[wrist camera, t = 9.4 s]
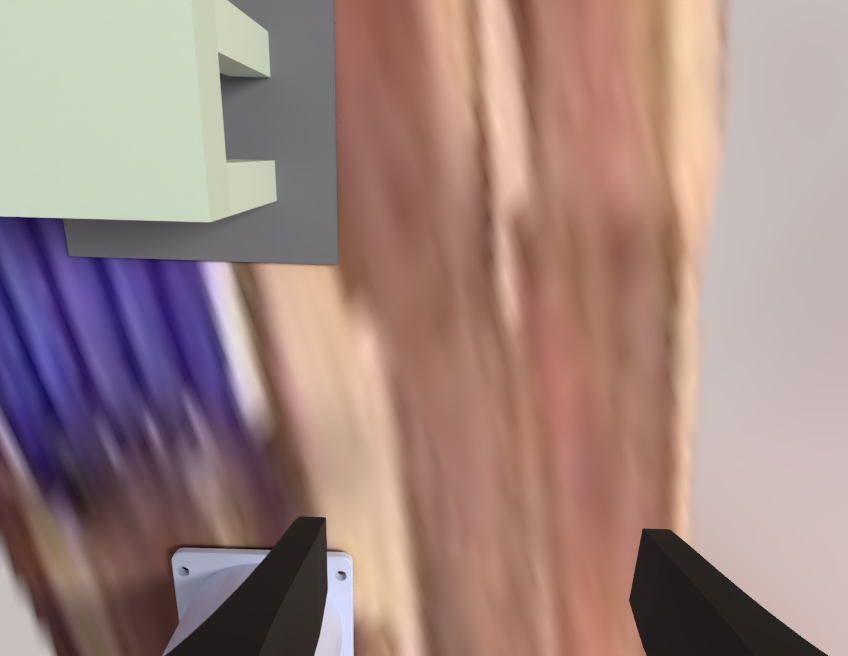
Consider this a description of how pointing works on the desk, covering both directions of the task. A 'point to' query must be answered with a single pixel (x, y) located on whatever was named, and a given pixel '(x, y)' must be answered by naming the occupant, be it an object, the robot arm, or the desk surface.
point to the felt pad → (259, 157)
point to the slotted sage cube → (125, 110)
